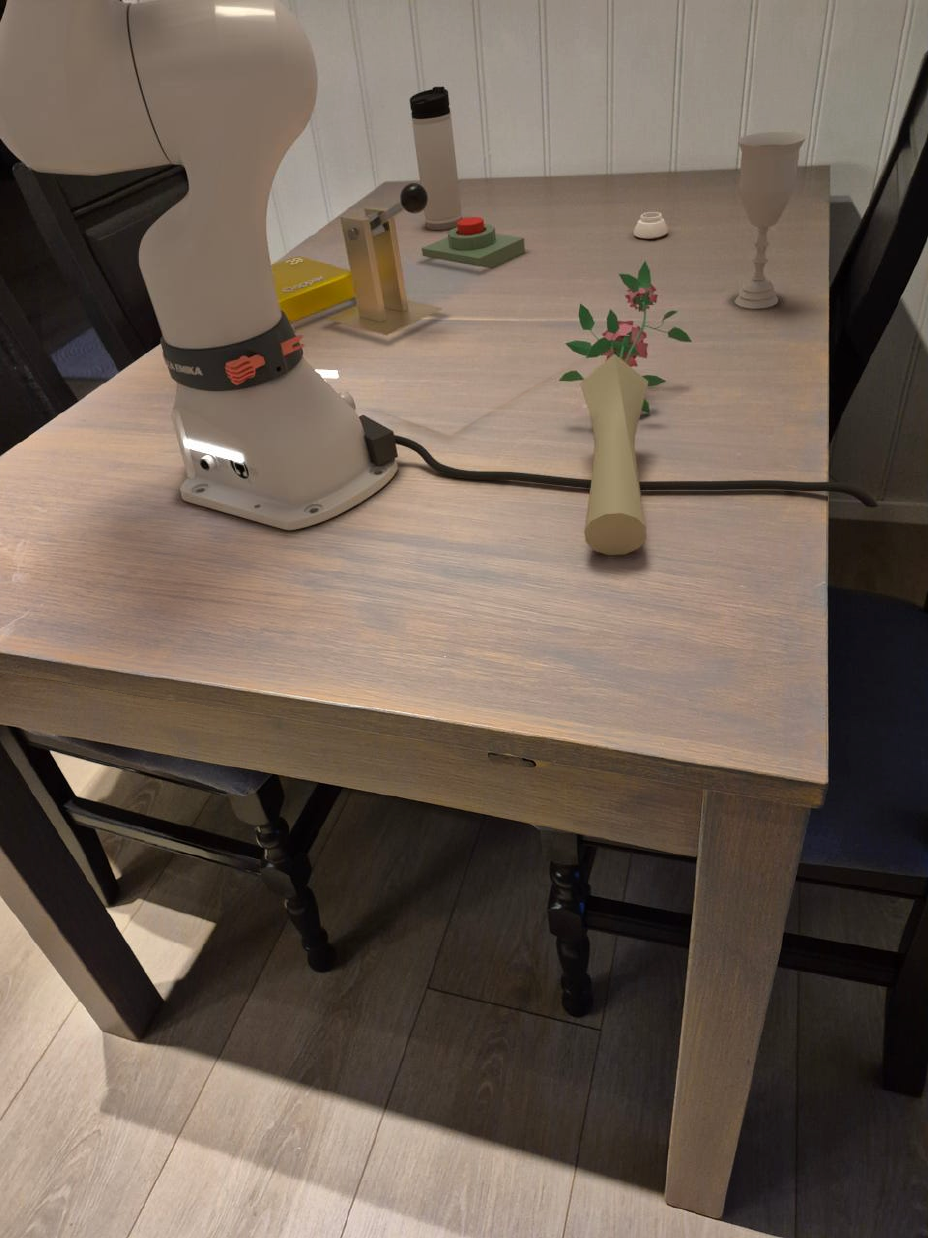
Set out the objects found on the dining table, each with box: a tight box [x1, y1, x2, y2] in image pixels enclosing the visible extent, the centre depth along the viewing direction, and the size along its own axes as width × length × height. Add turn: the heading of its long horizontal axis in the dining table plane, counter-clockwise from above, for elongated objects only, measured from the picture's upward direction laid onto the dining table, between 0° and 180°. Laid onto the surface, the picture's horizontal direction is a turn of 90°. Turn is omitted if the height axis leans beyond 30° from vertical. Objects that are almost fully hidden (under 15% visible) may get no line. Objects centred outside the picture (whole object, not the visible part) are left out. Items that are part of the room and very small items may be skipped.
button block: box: [421, 223, 526, 269], centre depth 134 cm, size 12×10×4 cm
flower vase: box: [558, 260, 693, 556], centre depth 82 cm, size 12×12×35 cm
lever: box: [364, 182, 428, 239], centre depth 107 cm, size 13×3×3 cm, turn 46°
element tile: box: [271, 255, 355, 324], centre depth 125 cm, size 15×15×5 cm
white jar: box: [633, 211, 669, 240], centre depth 133 cm, size 5×3×5 cm
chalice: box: [734, 131, 807, 310], centre depth 104 cm, size 7×7×18 cm
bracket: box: [326, 205, 443, 337], centre depth 114 cm, size 12×10×14 cm
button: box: [457, 216, 485, 236], centre depth 132 cm, size 4×4×2 cm
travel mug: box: [409, 86, 463, 232], centre depth 145 cm, size 6×7×20 cm
